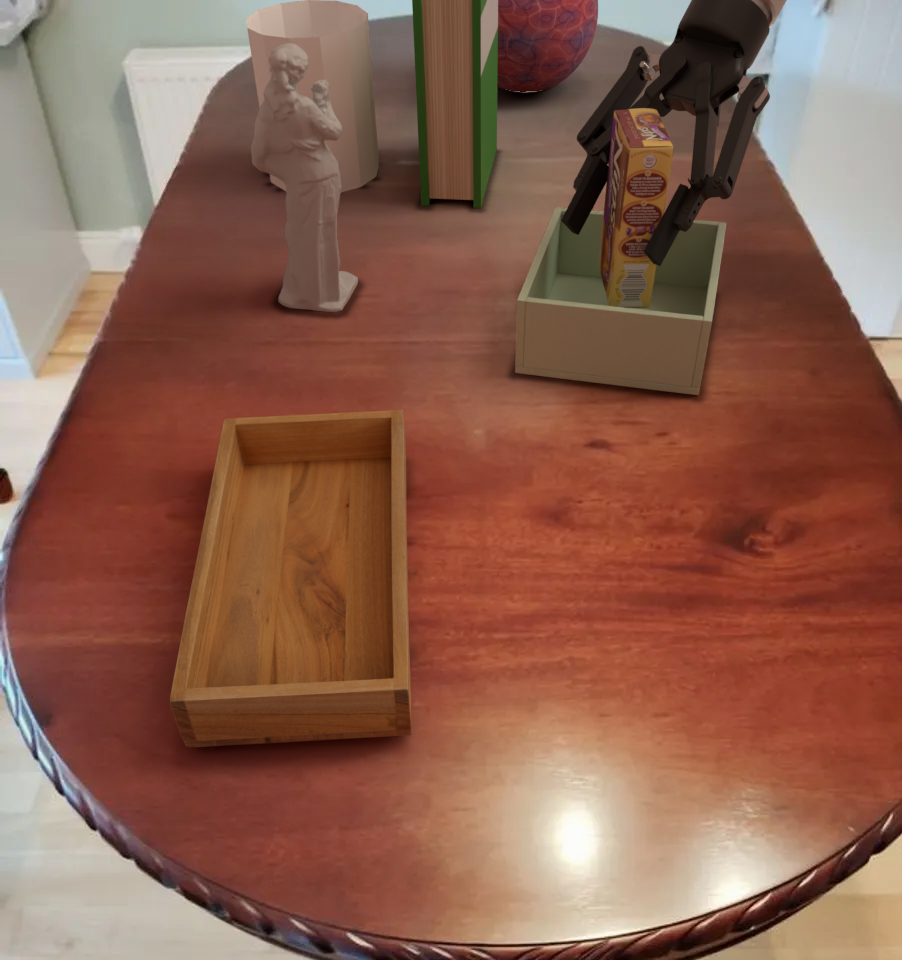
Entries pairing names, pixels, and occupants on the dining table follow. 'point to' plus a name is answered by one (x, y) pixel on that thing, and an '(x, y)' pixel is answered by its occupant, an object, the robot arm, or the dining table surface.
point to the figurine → (304, 181)
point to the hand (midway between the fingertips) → (609, 242)
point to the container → (326, 73)
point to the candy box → (633, 204)
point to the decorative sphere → (542, 41)
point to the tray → (300, 585)
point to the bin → (618, 312)
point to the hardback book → (456, 96)
